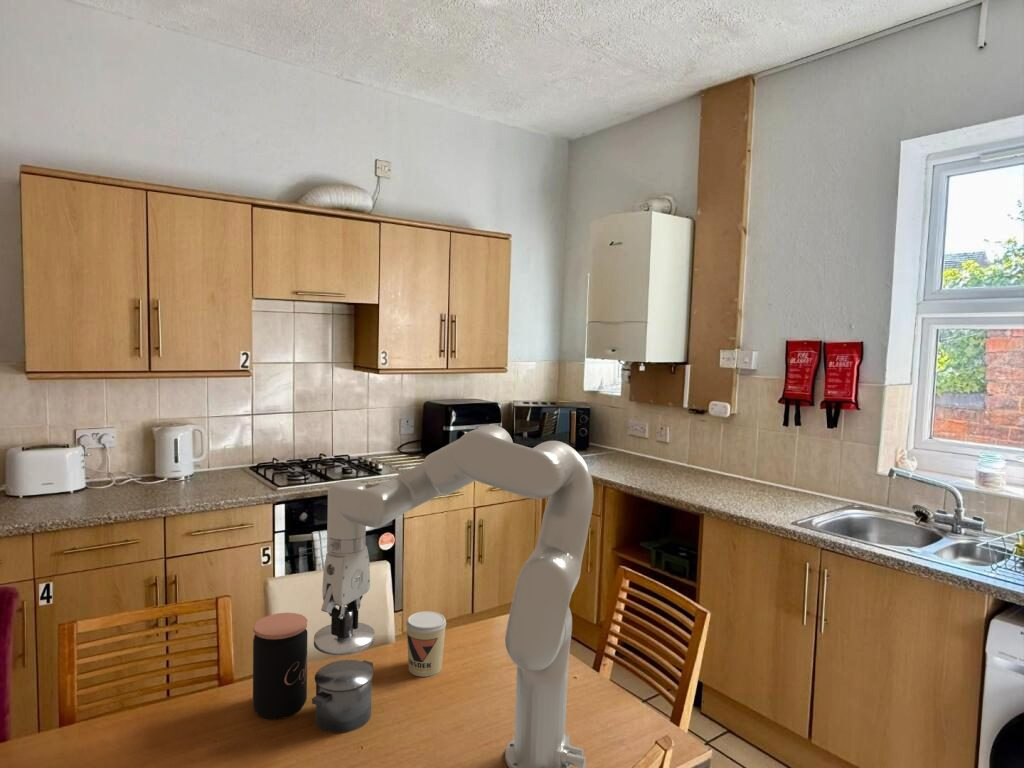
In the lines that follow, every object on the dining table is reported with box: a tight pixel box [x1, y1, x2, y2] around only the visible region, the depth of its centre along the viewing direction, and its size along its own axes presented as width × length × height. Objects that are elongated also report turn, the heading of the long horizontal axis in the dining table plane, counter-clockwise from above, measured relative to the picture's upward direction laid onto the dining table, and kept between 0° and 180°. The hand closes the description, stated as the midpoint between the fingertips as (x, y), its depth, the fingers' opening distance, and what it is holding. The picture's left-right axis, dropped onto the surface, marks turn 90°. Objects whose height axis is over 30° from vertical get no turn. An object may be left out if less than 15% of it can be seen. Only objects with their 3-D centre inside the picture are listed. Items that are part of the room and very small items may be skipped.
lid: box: [313, 608, 376, 656], centre depth 130 cm, size 12×12×6 cm
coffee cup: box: [405, 610, 447, 678], centre depth 151 cm, size 9×9×12 cm
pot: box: [311, 659, 374, 734], centre depth 131 cm, size 12×17×9 cm
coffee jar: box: [252, 612, 308, 721], centre depth 134 cm, size 11×11×18 cm
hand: (344, 630), depth 130 cm, fingers closed on lid, 3 cm apart
